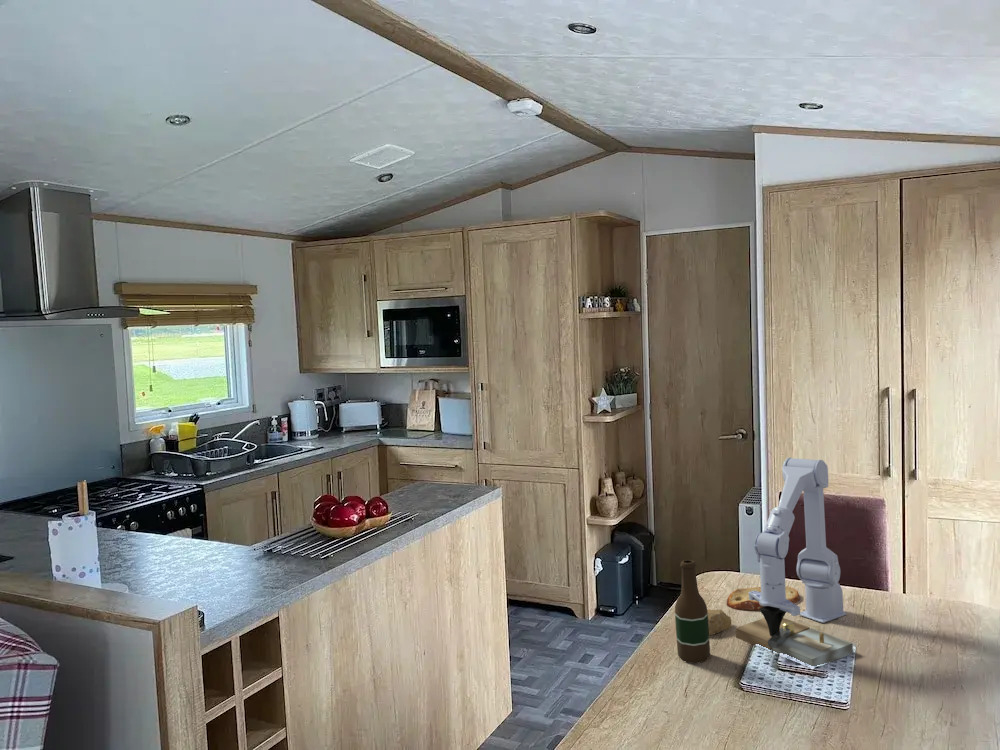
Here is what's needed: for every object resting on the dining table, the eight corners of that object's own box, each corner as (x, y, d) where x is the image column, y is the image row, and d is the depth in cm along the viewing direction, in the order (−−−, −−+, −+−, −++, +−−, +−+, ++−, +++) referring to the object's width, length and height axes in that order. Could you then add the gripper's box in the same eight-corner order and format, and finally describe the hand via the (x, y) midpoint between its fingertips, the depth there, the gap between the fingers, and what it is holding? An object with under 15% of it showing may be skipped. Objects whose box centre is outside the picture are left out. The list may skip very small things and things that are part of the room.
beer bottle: (711, 664, 193) (705, 566, 192) (678, 663, 195) (671, 566, 193) (709, 650, 201) (703, 556, 199) (677, 650, 203) (671, 556, 201)
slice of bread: (803, 595, 233) (802, 582, 233) (788, 617, 218) (787, 604, 218) (741, 588, 243) (740, 576, 243) (722, 609, 228) (721, 596, 228)
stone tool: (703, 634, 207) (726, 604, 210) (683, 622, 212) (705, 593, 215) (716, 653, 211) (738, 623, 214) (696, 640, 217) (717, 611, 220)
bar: (785, 630, 203) (784, 620, 203) (796, 632, 201) (795, 622, 201) (766, 648, 194) (766, 637, 194) (778, 650, 192) (777, 639, 192)
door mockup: (774, 623, 214) (773, 606, 214) (852, 653, 193) (851, 633, 193) (735, 637, 207) (734, 619, 207) (812, 669, 186) (811, 649, 186)
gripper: (738, 577, 202) (741, 630, 203) (784, 593, 189) (786, 649, 190) (759, 571, 205) (761, 623, 206) (805, 586, 192) (807, 642, 193)
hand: (775, 635), depth 198 cm, fingers closed, pressing on bar
